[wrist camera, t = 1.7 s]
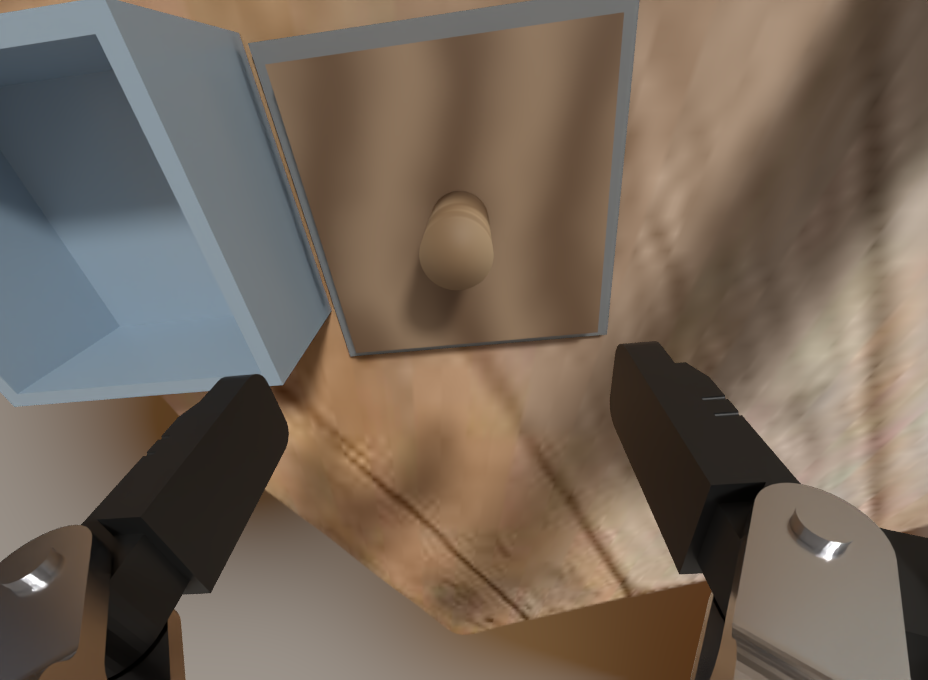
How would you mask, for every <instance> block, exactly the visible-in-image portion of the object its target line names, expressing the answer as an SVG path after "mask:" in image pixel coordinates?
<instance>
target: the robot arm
mask: <svg viewBox="0 0 928 680" xmlns="http://www.w3.org/2000/svg"><path fill="white" fill-rule="evenodd" d="M610 411H611V417H612V421H613V424H614V427H615V429H616V432H617V434H618V436H619V438H620V441H621V443H622V445H623V447H624V450H625V452H626V454H627V457H628V459H629V461H630V463H631V466H632V468H633V470H634V472H635V475H636V477H637V479H638V481H639V484H640V486H641V488H642V491H643V493H644V495H645V497H646V500H647V502H648V504H649V506H650V509H651V511H652V513H653V515H654V518H655V520H656V522H657V525H658V527H659V529H660V531H661V534H662V536H663V538H664V540H665V543H666V545H667V547H668V549H669V552H670V554H671V556H672V559H673V561H674V563H675V565H676V568H677V570H678V572H679V574H697V573H703V575H704V577H705V579H706V581H707V583H708V584H709V587H710V589H711V590H712V593H711V596H710V598H709V602H708V606H707V611H706V615H705V619H704V623H703V628H702V632H701V636H700V640H699V645H698V649H697V653H696V658H695V662H694V666H693V671H692V675H691V680H928V538H925V537H920V536H915V535H910V534H905V533H901V532H896V531H891V530H887V529H883V528H879V527H878V526H877V525H876V524H875V523H874V522H873V521H872V520H871V519H870V518H869V517H868V516H867V515H865V514H864V513H863V512H861V511H860V510H859V509H857V508H856V507H854V506H853V505H851V504H850V503H848V502H846V501H845V500H843V499H841V498H839V497H837V496H835V495H833V494H831V493H828V492H826V491H823V490H821V489H818V488H815V487H811V486H807V485H803V484H801V483H800V482H799V481H798V480H797V479H796V478H795V477H794V476H793V474H792V473H791V472H790V471H789V470H788V469H787V467H786V466H785V465H784V464H783V463H782V462H781V460H780V459H779V458H778V457H777V456H776V455H775V453H774V452H773V451H772V450H771V449H770V448H769V446H768V445H767V444H766V443H765V442H764V441H763V439H762V438H761V437H760V436H759V435H758V434H757V432H756V431H755V430H754V429H753V428H752V427H751V425H750V424H749V423H748V422H747V421H746V420H745V418H744V417H743V416H742V415H741V416H739V414H738V410H737V409H736V408H735V407H734V406H733V404H732V403H731V402H730V401H729V400H728V399H725V395H724V394H723V393H722V392H721V390H720V389H719V388H718V387H717V386H716V385H715V383H714V382H713V381H712V380H711V379H710V378H709V377H708V376H707V375H705V374H703V373H702V372H700V371H699V370H697V369H695V368H694V367H692V366H690V365H689V364H687V363H686V362H685V363H674V361H673V360H672V359H671V358H670V356H669V355H668V354H667V352H666V351H665V350H664V349H663V347H662V346H661V345H660V344H659V343H658V342H656V341H652V342H640V343H629V344H619V345H618V346H617V349H616V353H615V360H614V369H613V377H612V386H611V394H610ZM288 436H289V432H288V425H287V422H286V420H285V417H284V415H283V413H282V411H281V409H280V407H279V405H278V403H277V401H276V399H275V397H274V395H273V393H272V390H271V388H270V386H269V384H268V382H267V380H266V379H265V378H264V377H263V376H262V375H260V374H249V375H237V376H226V377H223V378H221V379H220V380H219V381H218V382H217V383H216V384H215V385H214V386H213V387H212V389H211V390H210V391H209V392H208V393H207V394H206V395H205V397H204V398H203V399H202V400H201V401H200V402H199V403H197V404H196V405H195V406H193V407H192V408H190V409H189V410H188V411H186V412H185V413H183V414H182V415H181V416H179V417H178V418H177V419H176V421H175V422H174V423H173V424H172V425H171V426H170V427H169V428H168V430H166V432H165V433H164V434H163V435H162V439H161V440H158V441H157V442H156V443H155V444H154V445H153V446H152V447H151V448H150V449H149V450H148V452H147V456H143V457H142V458H141V459H140V460H139V462H138V463H137V464H136V465H135V466H134V467H133V468H132V469H131V470H130V472H129V473H128V474H127V475H126V476H125V477H124V478H123V479H122V480H121V481H120V482H119V484H118V485H117V486H116V487H115V488H114V489H113V490H112V491H111V492H110V493H109V495H108V496H107V497H106V498H105V499H104V500H103V501H102V502H101V503H100V505H99V506H98V507H97V508H96V509H95V510H94V511H93V512H92V513H91V515H90V516H89V517H88V518H87V519H86V520H85V521H84V522H83V523H82V524H81V525H69V526H65V527H60V528H57V529H55V530H52V531H49V532H47V533H45V534H42V535H41V536H39V537H37V538H35V539H33V540H31V541H29V542H28V543H26V544H24V545H23V546H21V547H20V548H18V549H17V550H16V551H14V552H13V553H11V554H10V555H9V556H8V557H6V558H5V559H4V560H2V561H1V562H0V680H185V668H184V655H183V642H182V630H181V620H180V616H179V614H178V612H177V611H176V610H175V609H174V608H175V606H176V605H177V603H178V601H179V599H180V597H181V596H182V594H203V593H211V592H212V590H213V588H214V585H215V584H216V582H217V580H218V578H219V576H220V574H221V572H222V570H223V568H224V566H225V565H226V562H227V561H228V559H229V557H230V555H231V553H232V551H233V549H234V547H235V545H236V543H237V541H238V540H239V537H240V536H241V534H242V532H243V530H244V528H245V526H246V524H247V522H248V520H249V518H250V516H251V514H252V512H253V511H254V508H255V507H256V505H257V503H258V501H259V499H260V497H261V495H262V493H263V491H264V489H265V488H266V486H267V484H268V482H269V480H270V478H271V476H272V474H273V472H274V470H275V468H276V466H277V464H278V462H279V461H280V459H281V457H282V455H283V453H284V451H285V449H286V446H287V443H288Z"/></svg>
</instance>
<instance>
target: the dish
mask: <svg viewBox="0 0 928 680" xmlns="http://www.w3.org/2000/svg"><path fill="white" fill-rule="evenodd" d="M330 312H331V308H330V305H329V302H328V299H327V296H326V293H325V290H324V287H323V284H322V281H321V278H320V275H319V272H318V269H317V266H316V263H315V260H314V257H313V254H312V251H311V248H310V245H309V242H308V239H307V236H306V233H305V230H304V227H303V224H302V221H301V218H300V215H299V212H298V209H297V206H296V203H295V200H294V197H293V194H292V191H291V188H290V185H289V182H288V179H287V176H286V173H285V170H284V167H283V164H282V161H281V158H280V155H279V152H278V149H277V146H276V143H275V140H274V137H273V134H272V131H271V128H270V125H269V122H268V119H267V116H266V113H265V110H264V107H263V104H262V101H261V98H260V95H259V92H258V89H257V86H256V83H255V80H254V77H253V74H252V71H251V68H250V65H249V62H248V59H247V56H246V53H245V50H244V47H243V44H242V41H241V38H240V35H239V33H237V32H234V31H230V30H226V29H222V28H219V27H215V26H211V25H207V24H204V23H200V22H196V21H193V20H189V19H185V18H181V17H178V16H174V15H170V14H166V13H163V12H159V11H155V10H152V9H148V8H144V7H140V6H137V5H133V4H129V3H126V2H122V1H118V0H80V1H74V2H68V3H62V4H56V5H50V6H44V7H38V8H32V9H26V10H20V11H13V12H7V13H1V14H0V392H1V393H2V394H3V396H5V398H7V400H8V401H9V402H10V403H11V404H12V405H13V406H14V407H17V406H29V405H40V404H41V405H42V404H53V403H66V402H78V401H90V400H103V399H116V398H128V397H141V396H152V395H165V394H178V393H190V392H203V391H210V390H211V389H212V387H213V386H214V385H215V384H216V383H217V382H218V381H219V380H220V379H221V378H223V377H226V376H237V375H249V374H260V375H262V376H263V377H264V378H265V379H266V380H267V382H268V384H269V386H277V385H283V384H284V383H285V381H286V380H287V378H288V377H289V375H290V374H291V372H292V370H293V369H294V367H295V366H296V364H297V363H298V361H299V360H300V358H301V357H302V355H303V354H304V352H305V351H306V349H307V348H308V346H309V344H310V343H311V341H312V340H313V338H314V337H315V335H316V334H317V332H318V331H319V329H320V328H321V326H322V325H323V323H324V321H325V320H326V318H327V317H328V315H329V314H330Z"/></svg>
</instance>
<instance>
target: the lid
mask: <svg viewBox="0 0 928 680" xmlns="http://www.w3.org/2000/svg"><path fill="white" fill-rule="evenodd" d="M623 20H624V12H622V13H615V14H608V15H601V16H594V17H587V18H581V19H574V20H567V21H560V22H553V23H546V24H539V25H533V26H526V27H519V28H512V29H505V30H498V31H491V32H485V33H478V34H471V35H464V36H457V37H450V38H443V39H437V40H430V41H423V42H416V43H409V44H402V45H395V46H389V47H382V48H375V49H368V50H361V51H354V52H347V53H341V54H334V55H327V56H320V57H313V58H306V59H299V60H293V61H286V62H279V63H272V64H265V66H266V69H267V72H268V76H269V79H270V82H271V85H272V88H273V91H274V95H275V98H276V101H277V104H278V107H279V110H280V114H281V117H282V120H283V123H284V126H285V129H286V133H287V136H288V139H289V142H290V145H291V148H292V152H293V155H294V158H295V161H296V164H297V167H298V171H299V174H300V177H301V180H302V183H303V186H304V190H305V193H306V196H307V199H308V202H309V205H310V209H311V212H312V215H313V218H314V221H315V224H316V228H317V231H318V234H319V237H320V240H321V243H322V247H323V250H324V253H325V256H326V259H327V262H328V266H329V269H330V272H331V275H332V278H333V281H334V285H335V288H336V291H337V294H338V297H339V300H340V304H341V307H342V310H343V313H344V316H345V319H346V323H347V326H348V329H349V332H350V335H351V338H352V342H353V345H354V348H355V351H356V353H364V352H375V351H387V350H399V349H410V348H422V347H434V346H445V345H457V344H468V343H480V342H492V341H503V340H515V339H527V338H538V337H550V336H562V335H573V334H585V333H597V332H598V324H599V312H600V299H601V287H602V275H603V263H604V251H605V239H606V227H607V215H608V202H609V190H610V178H611V166H612V154H613V142H614V130H615V117H616V105H617V93H618V81H619V69H620V57H621V45H622V33H623Z"/></svg>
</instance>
